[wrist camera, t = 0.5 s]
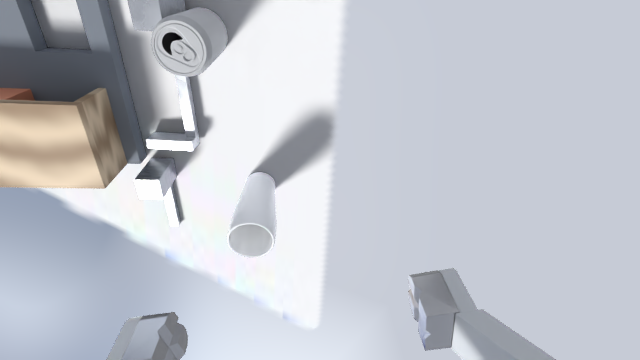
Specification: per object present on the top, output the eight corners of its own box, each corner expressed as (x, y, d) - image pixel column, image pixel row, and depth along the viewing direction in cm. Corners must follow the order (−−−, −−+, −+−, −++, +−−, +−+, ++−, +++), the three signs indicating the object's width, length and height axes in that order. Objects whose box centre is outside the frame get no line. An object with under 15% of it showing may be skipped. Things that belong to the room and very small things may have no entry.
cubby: (-27, 83, 44) (-79, 100, 38) (105, 88, 46) (76, 105, 39) (12, 161, 50) (-27, 186, 44) (127, 163, 52) (104, 188, 46)
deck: (-109, -126, 35) (-135, -133, 33) (80, -110, 36) (66, -115, 34) (23, 153, 53) (12, 161, 50) (146, 156, 54) (140, 163, 52)
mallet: (151, 157, 54) (134, 180, 48) (173, 158, 55) (158, 180, 49) (167, 222, 62) (153, 248, 56) (186, 222, 62) (174, 248, 56)
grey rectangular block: (122, -8, 42) (86, -7, 36) (183, -5, 42) (157, -4, 36) (157, 140, 53) (133, 160, 47) (206, 143, 53) (189, 163, 47)
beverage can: (197, -5, 43) (166, 1, 32) (238, 31, 45) (221, 47, 35) (171, 34, 45) (135, 51, 35) (212, 67, 47) (189, 91, 37)
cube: (-10, 87, 45) (-42, 99, 40) (30, 88, 45) (2, 100, 41) (7, 121, 47) (-22, 136, 43) (44, 123, 48) (19, 137, 43)
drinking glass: (234, 187, 58) (217, 246, 46) (253, 160, 56) (241, 214, 43) (266, 204, 61) (259, 265, 48) (287, 179, 58) (284, 236, 46)
